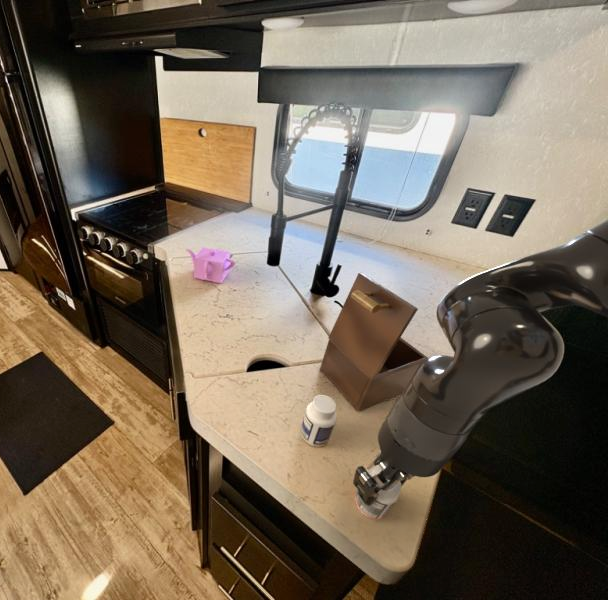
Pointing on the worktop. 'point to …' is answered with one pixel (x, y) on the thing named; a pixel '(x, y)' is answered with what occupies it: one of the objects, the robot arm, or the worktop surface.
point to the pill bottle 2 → (379, 502)
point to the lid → (370, 324)
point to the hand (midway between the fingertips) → (377, 491)
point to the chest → (362, 387)
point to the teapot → (211, 264)
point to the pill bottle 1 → (319, 421)
